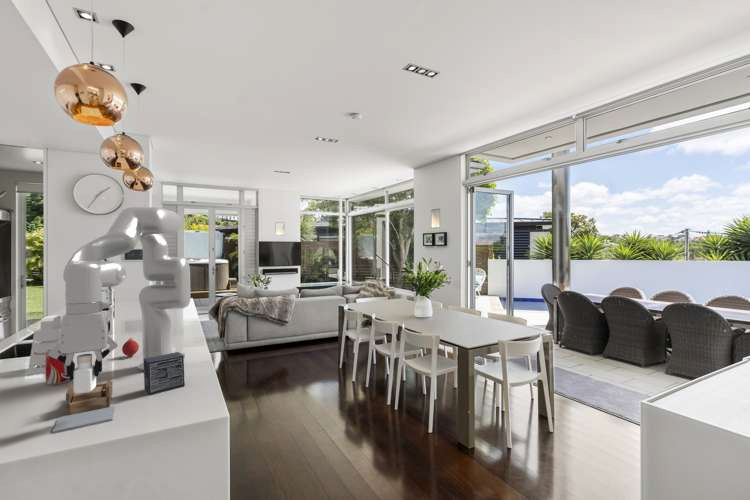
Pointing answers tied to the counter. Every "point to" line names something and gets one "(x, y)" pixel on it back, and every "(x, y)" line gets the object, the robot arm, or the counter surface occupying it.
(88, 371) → the pepper shaker
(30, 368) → the grater
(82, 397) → the block
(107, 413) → the slate mat
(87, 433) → the counter surface
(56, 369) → the soda can
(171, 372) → the small box
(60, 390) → the counter surface
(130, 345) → the onion
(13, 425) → the counter surface
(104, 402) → the brown wooden frame
